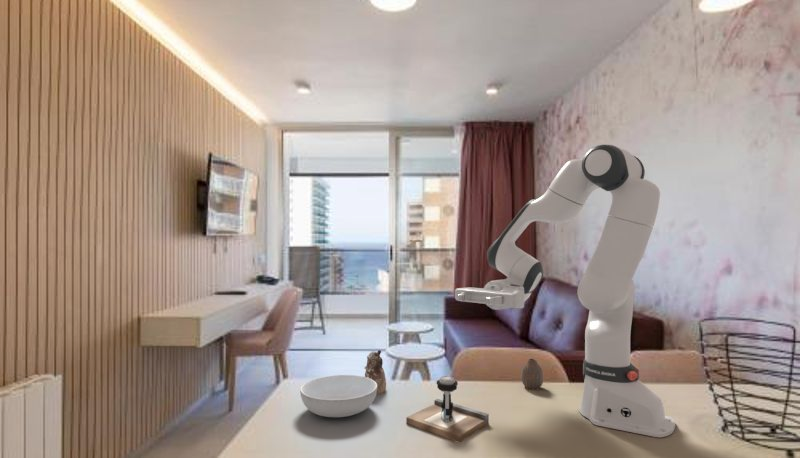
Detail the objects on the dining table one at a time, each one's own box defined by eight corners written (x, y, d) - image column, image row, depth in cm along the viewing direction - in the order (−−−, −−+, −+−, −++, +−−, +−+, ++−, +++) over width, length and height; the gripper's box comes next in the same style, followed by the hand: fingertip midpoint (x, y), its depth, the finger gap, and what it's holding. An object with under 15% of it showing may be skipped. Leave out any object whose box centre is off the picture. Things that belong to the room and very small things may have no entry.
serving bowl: (365, 393, 135) (365, 371, 135) (387, 420, 115) (387, 394, 115) (295, 402, 128) (295, 378, 128) (305, 432, 108) (305, 404, 108)
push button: (458, 424, 109) (458, 383, 109) (436, 423, 109) (436, 383, 109) (457, 414, 115) (457, 375, 116) (436, 413, 116) (436, 374, 116)
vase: (547, 387, 141) (547, 359, 141) (537, 392, 136) (537, 364, 136) (527, 382, 145) (527, 355, 146) (516, 387, 140) (516, 359, 141)
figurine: (358, 389, 138) (358, 351, 138) (376, 384, 142) (376, 347, 143) (372, 396, 132) (373, 355, 133) (390, 390, 137) (390, 351, 137)
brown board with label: (488, 423, 113) (488, 414, 113) (459, 442, 103) (459, 431, 103) (437, 407, 123) (437, 398, 124) (406, 423, 113) (406, 413, 113)
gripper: (468, 281, 142) (443, 285, 132) (529, 286, 129) (506, 291, 119) (468, 301, 142) (443, 306, 132) (529, 308, 129) (506, 314, 118)
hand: (473, 299), depth 125 cm, fingers open, 8 cm apart
